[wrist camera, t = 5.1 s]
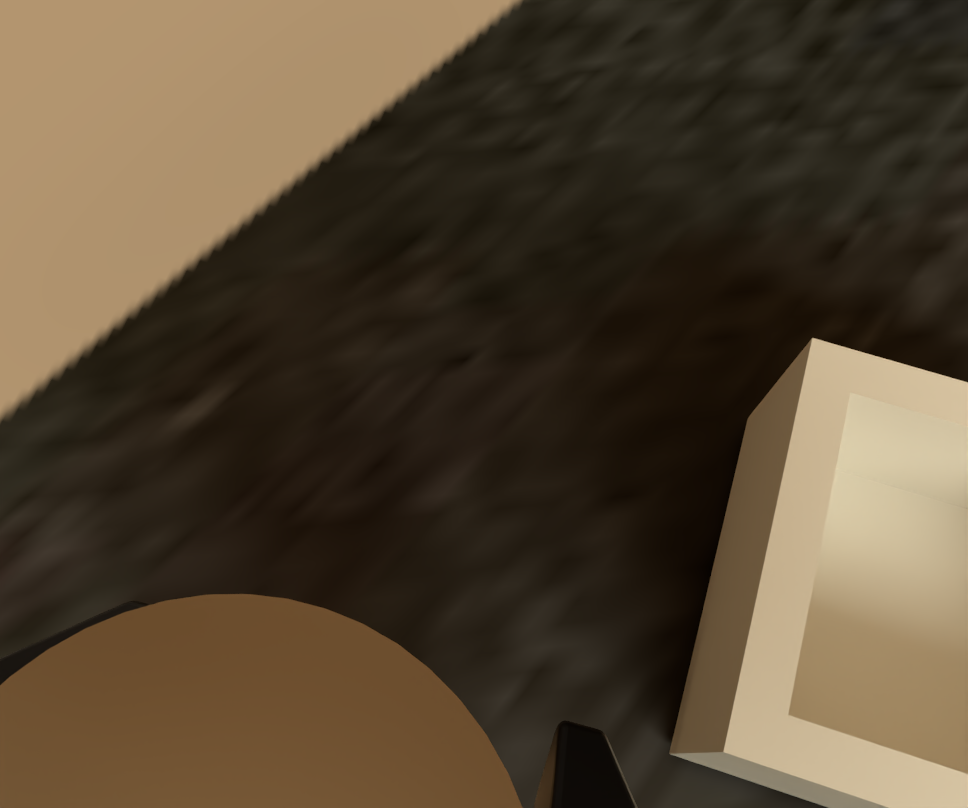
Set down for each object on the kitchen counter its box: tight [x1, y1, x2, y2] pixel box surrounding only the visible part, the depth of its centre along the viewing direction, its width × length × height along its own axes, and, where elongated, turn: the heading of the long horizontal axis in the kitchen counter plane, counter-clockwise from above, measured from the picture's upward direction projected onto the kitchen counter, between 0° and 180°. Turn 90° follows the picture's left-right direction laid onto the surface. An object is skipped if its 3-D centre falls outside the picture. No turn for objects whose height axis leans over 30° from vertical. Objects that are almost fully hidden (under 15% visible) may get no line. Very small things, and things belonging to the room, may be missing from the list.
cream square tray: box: [669, 338, 968, 808], centre depth 16 cm, size 7×7×4 cm
